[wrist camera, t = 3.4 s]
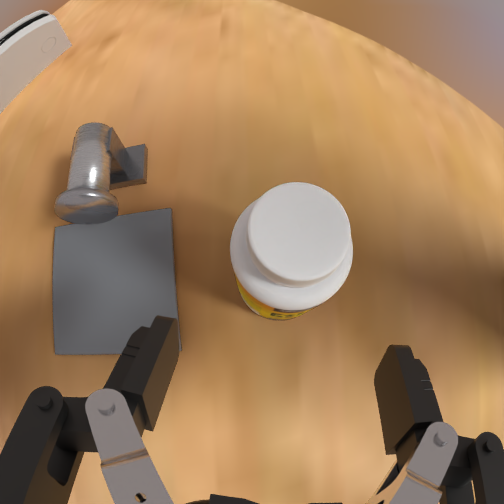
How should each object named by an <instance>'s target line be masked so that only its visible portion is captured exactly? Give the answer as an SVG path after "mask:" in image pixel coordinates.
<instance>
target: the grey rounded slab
mask: <svg viewBox="0 0 504 504" xmlns="http://www.w3.org/2000/svg"><path fill="white" fill-rule="evenodd" d="M71 46H72V44H71V43H70V41H69V39H68V37H67V36H66V34H65V32H64V31H63V29H62V27H61V25H60V23H59V22H58V20H57V19H56V17H55V16H54V15H50V13H49V12H47V11H43V10H39V11H36V12H34V13H32V14H30V15H28V16H26V17H24V18H22V19H20V20H18V21H17V22H15V23H14V24H12V25H11V26H9V27H8V28H7V29H5V30H4V31H3V32H1V33H0V114H1V112H2V111H3V110H4V109H5V108H6V107H7V106H8V105H9V104H10V103H11V101H12V100H13V99H14V98H15V97H16V96H17V95H18V94H19V93H20V92H21V91H22V90H23V89H24V88H25V87H26V86H27V85H28V84H29V83H30V82H31V81H32V80H33V79H34V78H35V77H36V76H37V75H39V74H40V73H41V72H42V71H43V70H44V69H45V68H46V67H47V66H48V65H50V64H51V63H52V62H53V61H54V60H55V59H56V58H58V57H59V56H60V55H61V54H62V53H63V52H65V51H66V50H67V49H68V48H70V47H71Z"/></svg>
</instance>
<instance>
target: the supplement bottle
mask: <svg viewBox="0 0 504 504" xmlns="http://www.w3.org/2000/svg"><path fill="white" fill-rule="evenodd" d="M230 256H231V262H232V266H233V270H234V274H235V278H236V282H237V285H238V289H239V292H240V294H241V297H242V298H243V300H244V302H245V303H246V304H247V306H248V307H249V308H250V309H251V310H252V311H254V312H255V313H257V314H258V315H260V316H262V317H264V318H267V319H271V320H288V319H292V318H295V317H298V316H300V315H302V314H304V313H305V312H307V311H309V310H311V309H313V308H315V307H316V306H318V305H320V304H322V303H323V302H325V301H326V300H328V299H329V298H330V297H331V296H333V295H334V294H335V293H336V292H337V291H338V290H339V288H340V287H341V286H342V285H343V283H344V282H345V280H346V278H347V276H348V274H349V271H350V268H351V264H352V258H353V244H352V238H351V229H350V223H349V219H348V216H347V214H346V212H345V210H344V208H343V207H342V205H341V204H340V202H339V201H338V200H337V199H336V198H335V197H334V196H333V195H332V194H330V193H329V192H328V191H326V190H324V189H323V188H321V187H318V186H316V185H313V184H309V183H303V182H290V183H284V184H281V185H278V186H276V187H273V188H271V189H270V190H268V191H267V192H265V193H264V194H263V195H262V196H261V197H260V198H258V199H256V200H255V201H254V202H252V203H251V204H250V205H249V206H248V207H247V208H246V209H245V210H244V211H243V212H242V214H241V215H240V217H239V218H238V220H237V222H236V224H235V226H234V229H233V231H232V235H231V241H230Z"/></svg>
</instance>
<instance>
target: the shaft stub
mask: <svg viewBox="0 0 504 504" xmlns="http://www.w3.org/2000/svg"><path fill="white" fill-rule="evenodd" d="M147 150H148V149H147V147H146V145H145V144H142V145H137V146H132V147H127V148H125V147H124V146H123V144H122V142H121V141H120V139H119V137H118V136H117V134H116V133H115V131H114V129H113V128H110V127H109V126H107V125H105V124H102V123H87V124H84V125H82V126H81V127H79V128H78V130H77V131H76V136H75V137H74V142H73V148H72V153H71V159H70V160H71V164H70V170H69V177H68V184H67V190H66V191H64V192H62V193H60V194H59V195H58V196H57V198H56V200H55V208H54V211H55V213H56V215H57V216H58V217H60V218H61V219H63V220H65V221H68V222H72V223H76V224H100V223H105V222H108V221H110V220H112V219H114V218H115V217H116V216H117V214H118V200H117V199H116V197H115V196H113V195H112V194H110V193H109V190H111V189H116V188H121V187H127V186H132V185H138V184H144V183H146V178H147Z"/></svg>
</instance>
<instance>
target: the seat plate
mask: <svg viewBox="0 0 504 504" xmlns="http://www.w3.org/2000/svg"><path fill="white" fill-rule="evenodd" d="M157 315H159V316H165V317H170V318H176V319H177V322H178V335H179V351H182V348H181V339H180V329H179V318H178V307H177V294H176V281H175V266H174V249H173V228H172V209H171V208H166V209H159V210H152V211H146V212H139V213H133V214H127V215H121V216H116V217H115V218H114V219H112V220H110V221H108V222H105V223H100V224H76V223H75V224H70V225H64V226H59V227H55V239H54V256H53V329H54V346H55V354H61V355H94V354H122V351H123V349H124V348H125V347H126V344H127V342H128V340H129V338H130V336H131V334H133V333H134V332H135V331H136V330H137V329H139V328H140V327H141V326H144V327H149V328H150V326H151V324H152V322H153V320H154V318H155V317H156V316H157Z"/></svg>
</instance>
